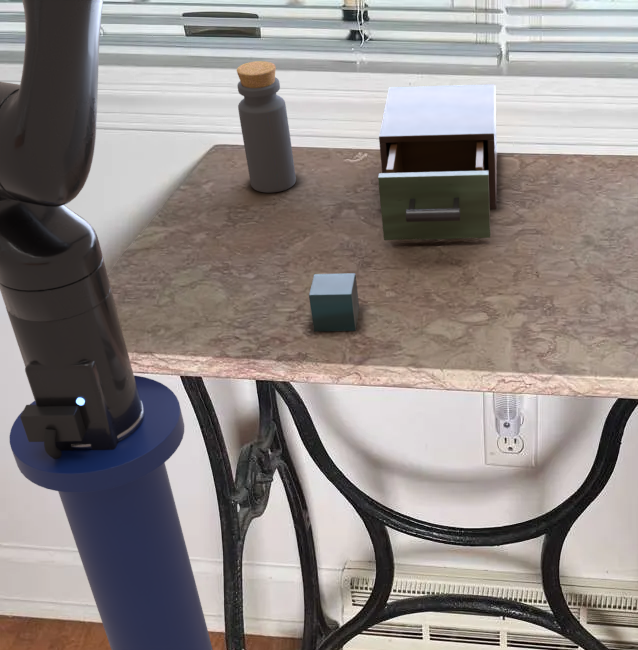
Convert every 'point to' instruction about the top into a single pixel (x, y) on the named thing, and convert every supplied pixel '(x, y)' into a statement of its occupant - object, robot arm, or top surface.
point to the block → (334, 302)
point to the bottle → (265, 128)
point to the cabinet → (442, 120)
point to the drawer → (435, 191)
